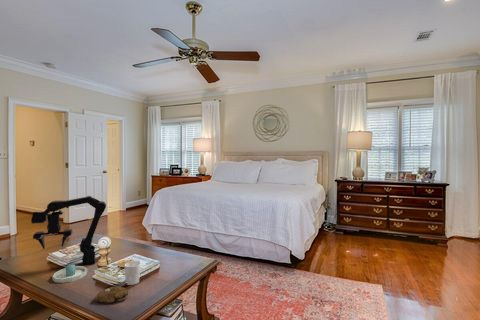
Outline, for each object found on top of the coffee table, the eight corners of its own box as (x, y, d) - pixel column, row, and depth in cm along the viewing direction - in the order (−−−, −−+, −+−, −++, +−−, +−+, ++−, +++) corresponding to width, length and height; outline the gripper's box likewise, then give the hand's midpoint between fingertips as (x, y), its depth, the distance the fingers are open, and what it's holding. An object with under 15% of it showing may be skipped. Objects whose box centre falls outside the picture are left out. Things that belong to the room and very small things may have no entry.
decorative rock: (134, 292, 131) (104, 293, 132) (133, 284, 132) (104, 285, 132) (123, 304, 120) (91, 305, 120) (123, 295, 120) (91, 296, 120)
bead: (75, 272, 151) (75, 263, 150) (74, 275, 146) (74, 266, 146) (67, 273, 149) (66, 265, 149) (65, 277, 145) (64, 268, 145)
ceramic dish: (89, 267, 158) (89, 264, 158) (83, 279, 143) (83, 276, 143) (57, 271, 152) (57, 268, 152) (49, 284, 137) (49, 281, 137)
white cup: (143, 280, 144) (143, 262, 143) (133, 286, 136) (133, 268, 136) (131, 277, 146) (131, 260, 146) (121, 284, 139) (121, 265, 138)
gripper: (74, 217, 168) (73, 241, 168) (38, 220, 160) (38, 245, 161) (70, 222, 158) (70, 247, 158) (32, 224, 150) (32, 251, 150)
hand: (53, 247), depth 157 cm, fingers open, 9 cm apart
